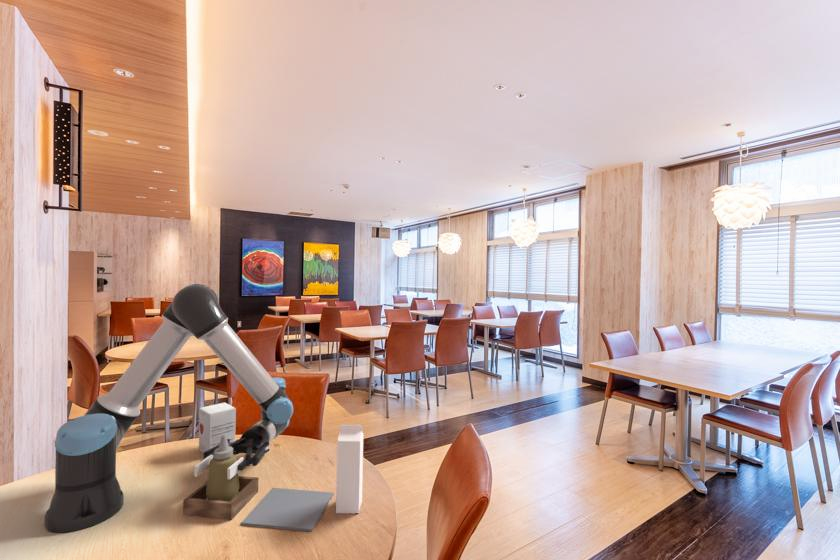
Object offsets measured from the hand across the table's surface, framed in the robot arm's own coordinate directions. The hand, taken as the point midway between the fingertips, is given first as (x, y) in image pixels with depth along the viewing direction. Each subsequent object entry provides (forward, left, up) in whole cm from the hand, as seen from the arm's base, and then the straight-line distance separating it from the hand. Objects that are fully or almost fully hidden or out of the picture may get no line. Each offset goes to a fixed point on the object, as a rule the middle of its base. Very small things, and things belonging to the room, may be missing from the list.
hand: (212, 472), depth 99 cm
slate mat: (+19, +5, -10) cm, 22 cm away
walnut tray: (0, +5, -10) cm, 11 cm away
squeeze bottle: (0, +5, -11) cm, 12 cm away
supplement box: (-21, +34, -11) cm, 41 cm away
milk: (+34, +8, -11) cm, 36 cm away
